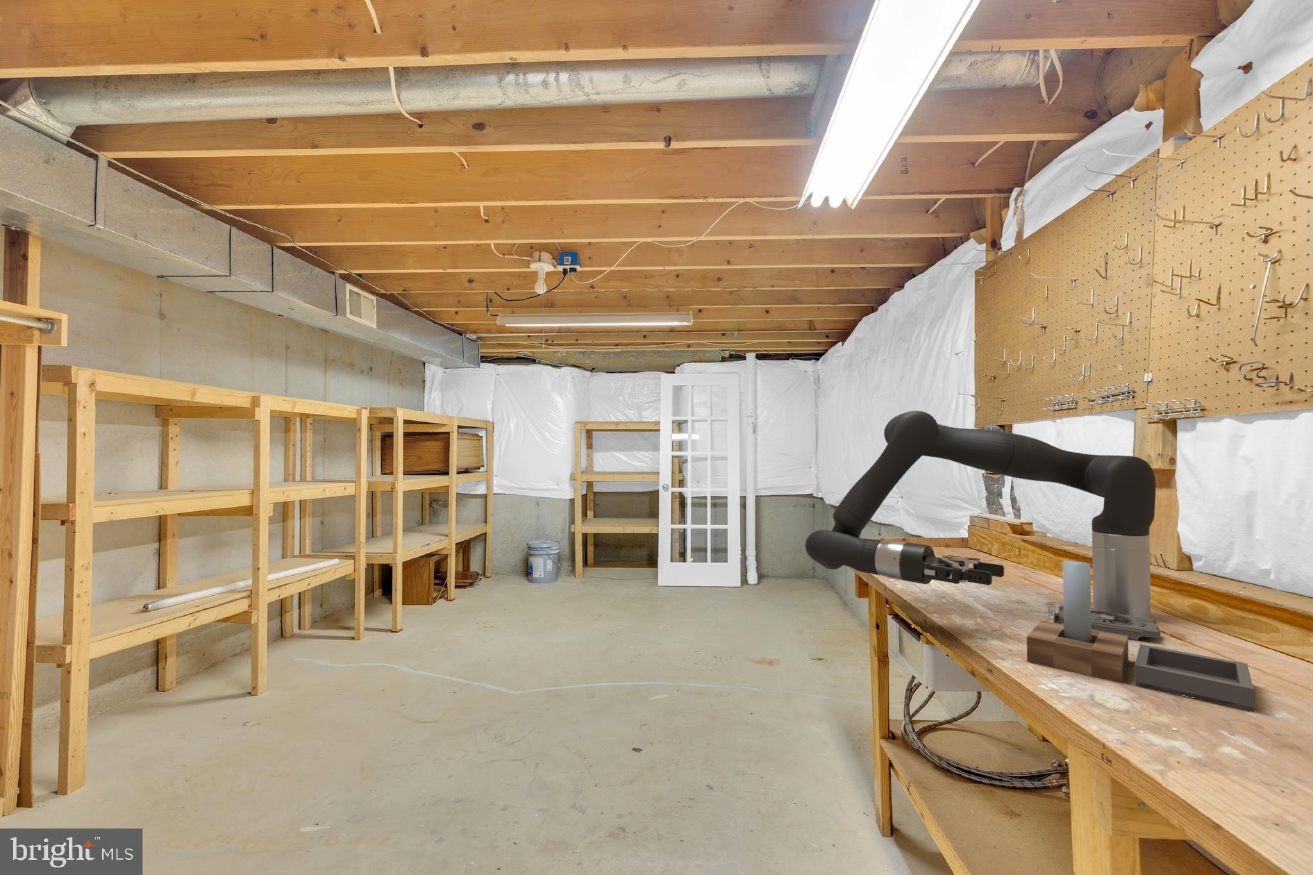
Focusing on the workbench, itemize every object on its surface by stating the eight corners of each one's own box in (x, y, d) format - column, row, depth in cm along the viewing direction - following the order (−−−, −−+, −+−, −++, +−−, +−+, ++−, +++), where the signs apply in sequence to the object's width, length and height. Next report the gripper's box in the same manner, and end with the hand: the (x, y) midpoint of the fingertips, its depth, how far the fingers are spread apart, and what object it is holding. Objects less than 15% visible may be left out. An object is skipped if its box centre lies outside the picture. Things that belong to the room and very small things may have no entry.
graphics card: (1046, 614, 107) (1048, 599, 117) (1046, 634, 107) (1048, 617, 117) (1164, 633, 97) (1155, 614, 107) (1164, 654, 97) (1155, 634, 107)
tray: (1140, 662, 91) (1140, 643, 91) (1247, 683, 83) (1247, 663, 83) (1135, 685, 82) (1134, 664, 83) (1254, 711, 74) (1253, 689, 74)
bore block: (1041, 642, 100) (1040, 620, 101) (1128, 660, 92) (1128, 635, 92) (1027, 661, 92) (1026, 636, 92) (1122, 682, 84) (1121, 655, 84)
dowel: (1066, 654, 95) (1064, 560, 95) (1093, 660, 92) (1091, 563, 92) (1062, 660, 92) (1061, 563, 92) (1090, 666, 89) (1088, 566, 90)
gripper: (890, 546, 106) (987, 559, 95) (917, 538, 116) (1007, 548, 105) (890, 586, 106) (987, 603, 95) (917, 574, 116) (1007, 589, 105)
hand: (997, 575), depth 100 cm, fingers open, 8 cm apart
